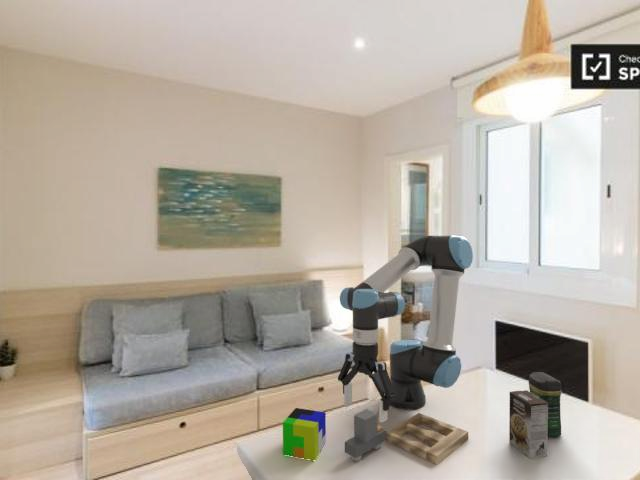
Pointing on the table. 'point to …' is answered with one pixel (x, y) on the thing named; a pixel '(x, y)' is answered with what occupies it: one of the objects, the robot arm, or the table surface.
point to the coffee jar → (548, 399)
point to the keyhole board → (428, 437)
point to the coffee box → (528, 423)
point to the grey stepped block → (365, 435)
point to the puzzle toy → (304, 433)
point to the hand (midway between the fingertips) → (365, 412)
